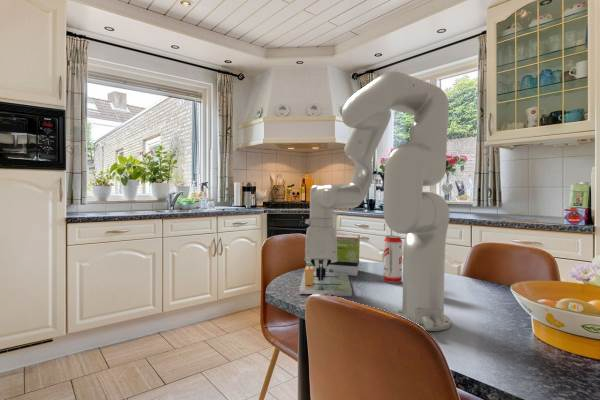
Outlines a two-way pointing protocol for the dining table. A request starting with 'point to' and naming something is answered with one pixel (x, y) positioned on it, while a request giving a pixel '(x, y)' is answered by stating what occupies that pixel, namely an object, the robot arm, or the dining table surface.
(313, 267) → the fader teal
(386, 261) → the beer can
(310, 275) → the fader orange
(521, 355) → the dining table surface
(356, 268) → the tea box
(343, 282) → the console
